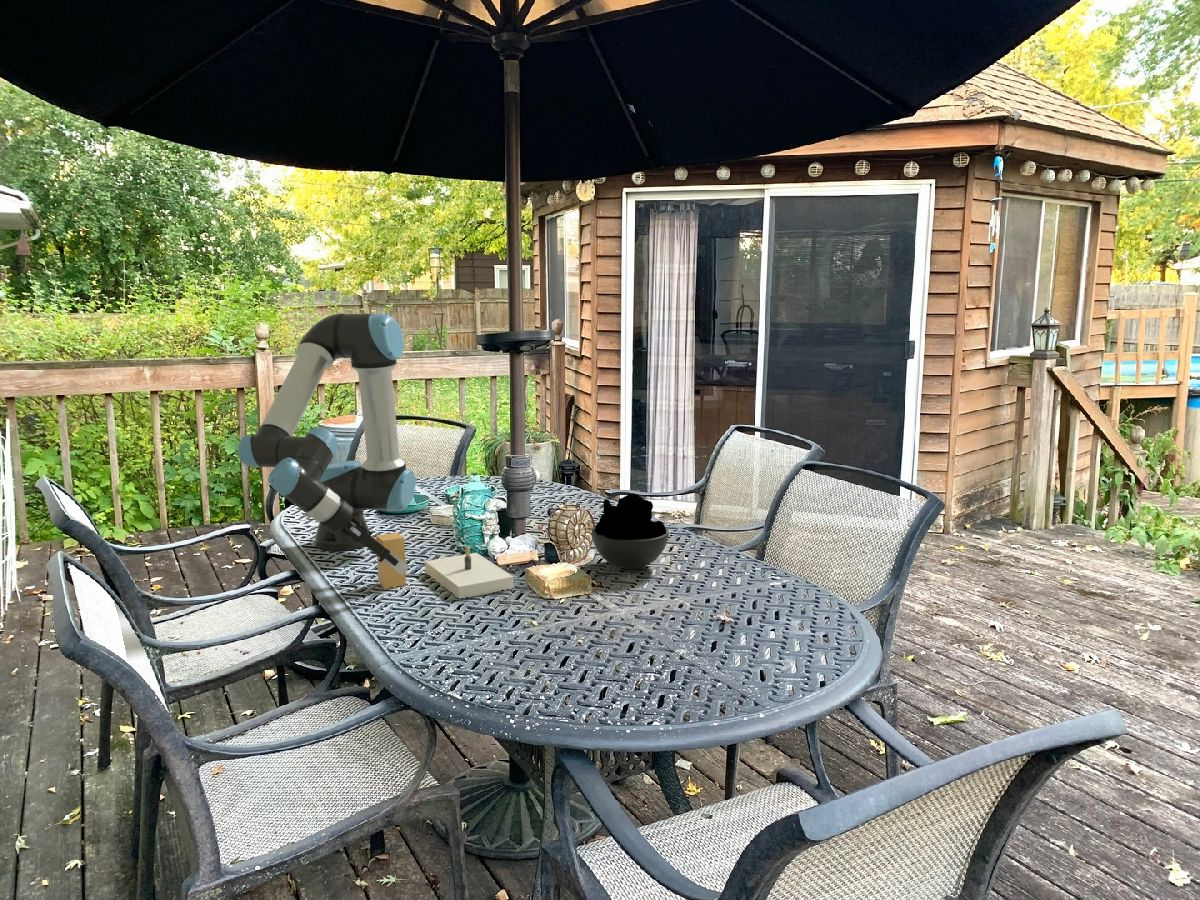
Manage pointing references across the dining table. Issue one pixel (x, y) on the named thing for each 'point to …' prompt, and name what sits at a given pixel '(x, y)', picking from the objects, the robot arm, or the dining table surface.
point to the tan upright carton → (386, 572)
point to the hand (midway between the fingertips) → (396, 562)
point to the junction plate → (469, 575)
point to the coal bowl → (629, 533)
